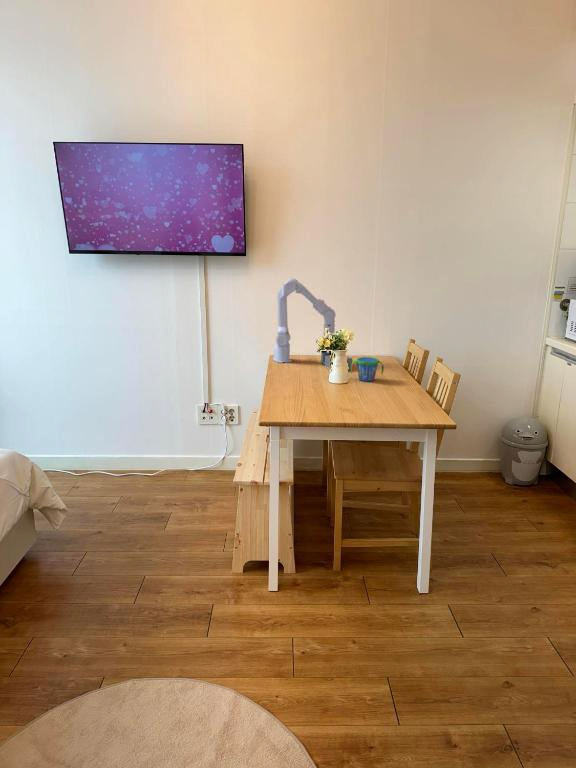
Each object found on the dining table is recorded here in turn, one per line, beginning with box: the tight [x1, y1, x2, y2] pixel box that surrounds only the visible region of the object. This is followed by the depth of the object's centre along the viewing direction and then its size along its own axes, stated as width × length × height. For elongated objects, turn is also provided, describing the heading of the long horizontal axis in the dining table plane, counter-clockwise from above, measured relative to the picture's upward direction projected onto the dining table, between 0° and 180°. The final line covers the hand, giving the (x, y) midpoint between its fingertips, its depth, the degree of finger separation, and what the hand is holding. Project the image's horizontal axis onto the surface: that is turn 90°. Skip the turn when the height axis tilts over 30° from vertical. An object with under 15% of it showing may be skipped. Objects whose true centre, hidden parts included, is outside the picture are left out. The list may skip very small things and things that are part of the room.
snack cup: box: [350, 356, 384, 382], centre depth 270 cm, size 16×10×10 cm
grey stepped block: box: [320, 351, 353, 371], centre depth 295 cm, size 17×10×6 cm, turn 27°
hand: (327, 357), depth 301 cm, fingers open, 7 cm apart
